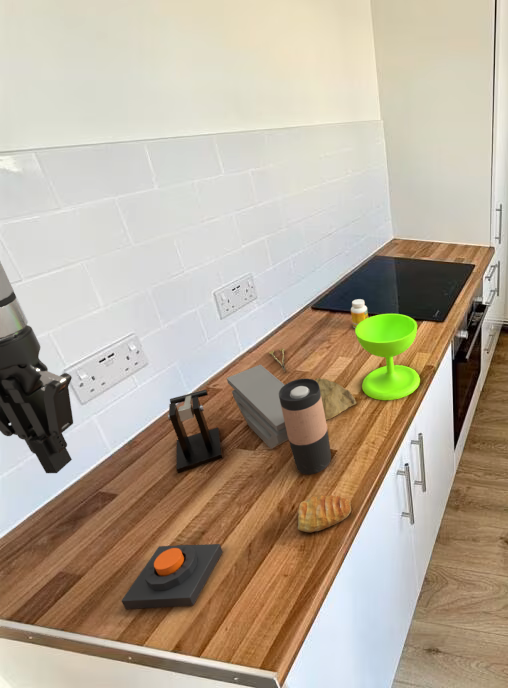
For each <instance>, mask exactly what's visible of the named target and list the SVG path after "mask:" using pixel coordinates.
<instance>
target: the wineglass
mask: <svg viewBox="0 0 508 688" xmlns="http://www.w3.org/2000/svg"><path fill="white" fill-rule="evenodd" d="M354 331H355V336H356V339H357V341H358V343H359V344H360V346H361V347H362V348H363V350H365V351H366V352H367V353H369V354H371V355H372V356H376V357H380V358H385V363H386V365H384V366H381V367H378V368H376V369H373V370H372V371H371V372H369V373H368V374H366V376H365V377H364V379H363V380H362V384H361V388H362V391H363V393H364V394H365V395H366V396H367V397H368V398H372V399H374V400H380V401H395V400H398V399H399V400H400V399H402V398H406V397H407V396H409V395H411V394H413V393H414V392H415V391H416V390H417V389H418V387H419V386H420V383H421V378H420V375H419V374H418V372H417V371H416V370H415V369H413V368H411V367H409V366H406V365H401V364H394V357H397V356H398V355H401V354H403V353H404V352H406V351H407V350H408V349H409V348H410V347H411V346H412V344H413V343H414V341H415V339H416V337H417V332H418V323H417V321H416V320H415V319H414V318H412V317H410V316H408V315H405V314H402V313H401V314H400V313H382V314H377V315H373V316H370V317H369V316H368V318H367V319H365V320H363V321H361V322H360V323H359V324H358V325H357V327H356V329H355V328H354Z"/></svg>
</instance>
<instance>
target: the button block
mask: <svg viewBox="0 0 508 688" xmlns="http://www.w3.org/2000/svg"><path fill="white" fill-rule="evenodd" d="M171 548H178V549H180V550H181V552H182V554H183V556H184V563H183V565H182V566H181V567H180V568H179V569H178V570H177V571H176V572H174V573H173V574H170V575H168V576H160V575H158V573H157V571H156V569H155V567H154V562H155V560H156V558H157V557H158V556H159V555H160V554H161V553H163V552H164V551H166V550H168V549H171ZM223 552H224V551H223V548H222V545H221V544H220V543H210V544H209V543H208V544H207V543H206V544H177V545H161V546H160V545H159V546H157V549H156V550H155V551H154V553H153V554H152V556H151V557H150V559H149V560H148V561H147V563H146V564H145V566H144V567H143V568H142V570H141V571H140V573H139V574H138V576H137V577H136V579H135V580H134V581H133V582H132V584H131V586H130V587H129V589H128V590H127V592H126V594H125V595H124V596H123V598H122V599H121V603H122V605H123V607H124V608H125V610H136V609H155V608H174V607H175V608H176V607H193V606H195V603H196V602H197V600H198V598H199V597H200V595H201V592H202V591H203V589H204V587H205V585H206V584H207V582H208V580H209V578H210V576H211V574H212V572H213V571H214V569H215V567H216V565H217V563H218V561H219V560H220V558H221V556H222V554H223Z"/></svg>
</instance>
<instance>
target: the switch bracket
mask: <svg viewBox="0 0 508 688" xmlns="http://www.w3.org/2000/svg"><path fill="white" fill-rule="evenodd" d="M199 399H200V398H198V397H194V398H192V408H193V411H194V418H195V420H196V423H197V425H198V429H199V432H198V433H194V434H192V435H189V436H188V433H187V431H186V429H185V426H184V423H183V421H181V420H180V417H179V413H178V409H179V408H178V407H177V404H175V403H172V404H171V403H169V404H168V405H169V406H168V407H169V408H168V409H169V410H168V414H167V419H168V421H170V422H171V425H172V427H173V430H174V433H175V435H176V438H177V439H176V465H175V467H176V472H177V474H181V473H182V472H183V473H184V472H186V471H189V470H192V469H194V468H198V467H200V466H205V465H206V464H210V463H213V462H215V461H218V460H222V459H223V451H222V442H221V433H220V429H219V427H214V428H210V429H209V425H208V423H207V420H206V418H205V414H204V411H205V409H204V405H203V404H201V402H200V400H199Z"/></svg>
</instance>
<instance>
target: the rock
mask: <svg viewBox="0 0 508 688" xmlns="http://www.w3.org/2000/svg"><path fill="white" fill-rule="evenodd" d="M315 381H317V382H318V384H319V387H320V393H321V398H322V403H323V408H324V413H325V419H326V421H327V420H331V419H333V418H334V417H336V416H338V415H340V414H341V413H342V412H344V411H346V410H347V409H349V408H351V407H353V406H355V405H356V404H357V401H356V398H355V397H354V395H353V394H352V392H351V391H350V390H349V389H347V388H345V387H344V386H342V385H341V384H339V383H337V382H335V381H332V380H329V379H326V378H321V377H318V378H315Z"/></svg>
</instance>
